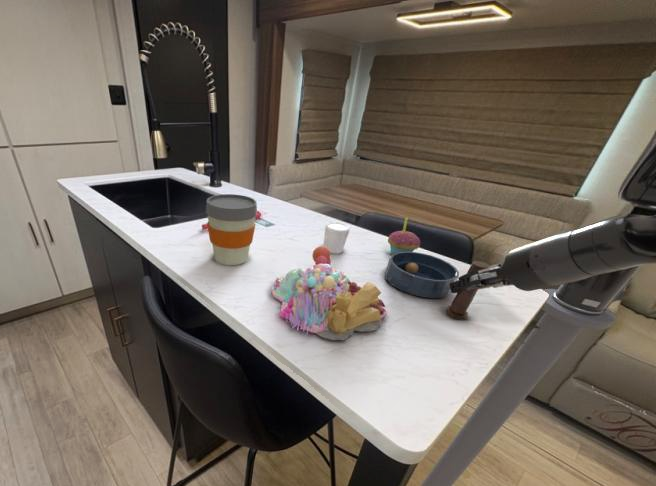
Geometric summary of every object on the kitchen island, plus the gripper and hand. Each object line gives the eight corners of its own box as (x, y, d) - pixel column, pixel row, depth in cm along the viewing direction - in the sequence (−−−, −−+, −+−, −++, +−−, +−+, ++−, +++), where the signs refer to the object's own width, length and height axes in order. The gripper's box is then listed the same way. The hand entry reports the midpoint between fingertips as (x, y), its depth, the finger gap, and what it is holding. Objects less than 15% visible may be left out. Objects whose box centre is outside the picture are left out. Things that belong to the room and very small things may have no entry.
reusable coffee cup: (204, 267, 77) (202, 207, 68) (209, 246, 87) (208, 192, 79) (254, 269, 77) (258, 210, 69) (253, 248, 88) (257, 195, 79)
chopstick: (263, 221, 109) (255, 213, 111) (264, 216, 108) (256, 208, 110) (206, 235, 96) (198, 226, 97) (207, 229, 94) (199, 220, 96)
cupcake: (398, 263, 85) (413, 221, 78) (377, 251, 91) (389, 211, 85) (420, 259, 88) (437, 218, 81) (399, 247, 94) (412, 209, 88)
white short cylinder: (334, 243, 94) (339, 221, 91) (349, 252, 89) (355, 229, 86) (316, 246, 92) (320, 223, 88) (330, 255, 87) (335, 232, 83)
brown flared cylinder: (458, 308, 68) (484, 259, 61) (470, 320, 64) (498, 269, 58) (441, 308, 67) (465, 259, 61) (452, 319, 64) (478, 268, 57)
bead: (412, 270, 80) (416, 260, 79) (418, 276, 78) (422, 266, 76) (401, 270, 80) (405, 260, 79) (406, 276, 78) (410, 265, 76)
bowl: (428, 269, 83) (435, 252, 80) (464, 300, 71) (473, 281, 68) (375, 268, 82) (380, 250, 79) (401, 299, 69) (408, 280, 67)
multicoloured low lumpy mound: (404, 311, 65) (419, 273, 60) (338, 361, 52) (351, 317, 47) (313, 266, 80) (319, 233, 75) (244, 296, 67) (246, 257, 62)
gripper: (577, 237, 50) (480, 268, 67) (510, 240, 47) (426, 272, 63) (591, 281, 49) (489, 302, 65) (523, 288, 46) (434, 308, 62)
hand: (458, 287), depth 64 cm, fingers closed on brown flared cylinder, 3 cm apart
